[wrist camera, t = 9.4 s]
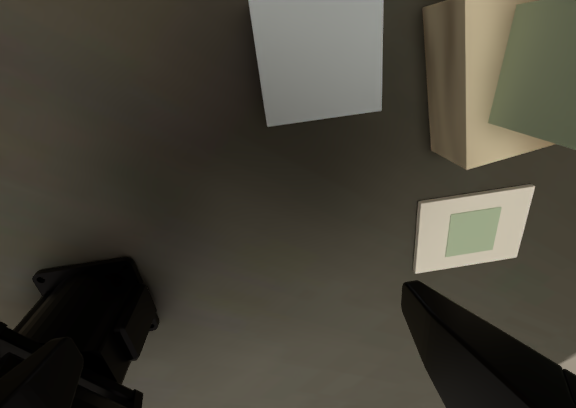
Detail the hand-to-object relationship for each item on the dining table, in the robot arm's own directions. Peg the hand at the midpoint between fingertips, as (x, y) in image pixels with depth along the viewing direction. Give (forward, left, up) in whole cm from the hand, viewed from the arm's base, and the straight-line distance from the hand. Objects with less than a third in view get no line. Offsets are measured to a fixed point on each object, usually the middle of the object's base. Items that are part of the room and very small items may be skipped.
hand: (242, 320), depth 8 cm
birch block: (+15, +4, -12) cm, 20 cm away
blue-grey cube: (+4, +6, -12) cm, 14 cm away
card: (+15, -7, -12) cm, 20 cm away
